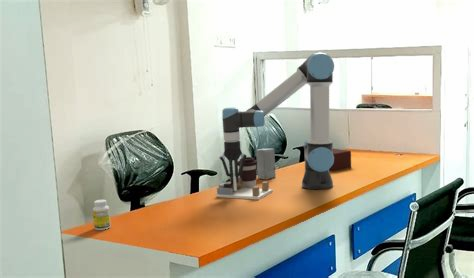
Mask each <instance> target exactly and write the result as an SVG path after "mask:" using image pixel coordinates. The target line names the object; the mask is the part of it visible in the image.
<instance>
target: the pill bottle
mask: <svg viewBox="0 0 474 278" xmlns="http://www.w3.org/2000/svg"><path fill="white" fill-rule="evenodd" d="M107 203H108V202H107V200H106V199H97V200H94V202H93V204H94V206H93V208H92V215H93V226H94V230H95V231H105V229H106V230H109V229H110V228H111V216H110V206H109V205H107ZM108 228H109V229H108Z"/></svg>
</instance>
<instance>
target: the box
mask: <svg viewBox="0 0 474 278" xmlns="http://www.w3.org/2000/svg"><path fill="white" fill-rule="evenodd" d="M333 155H334V162H333V165H332V166H331V168H330V169H329V172H336V171H341V170H346V169H351V168H352V151H351V150H348V149H347V150H346V149H340V148H333Z"/></svg>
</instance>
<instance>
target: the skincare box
mask: <svg viewBox="0 0 474 278" xmlns="http://www.w3.org/2000/svg"><path fill="white" fill-rule="evenodd" d="M255 153H256V160H257V165H256V168H257V179H263V180H269V179H273V178H276V158H275V148H267V147H266V148H260V149H256V150H255Z"/></svg>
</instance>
